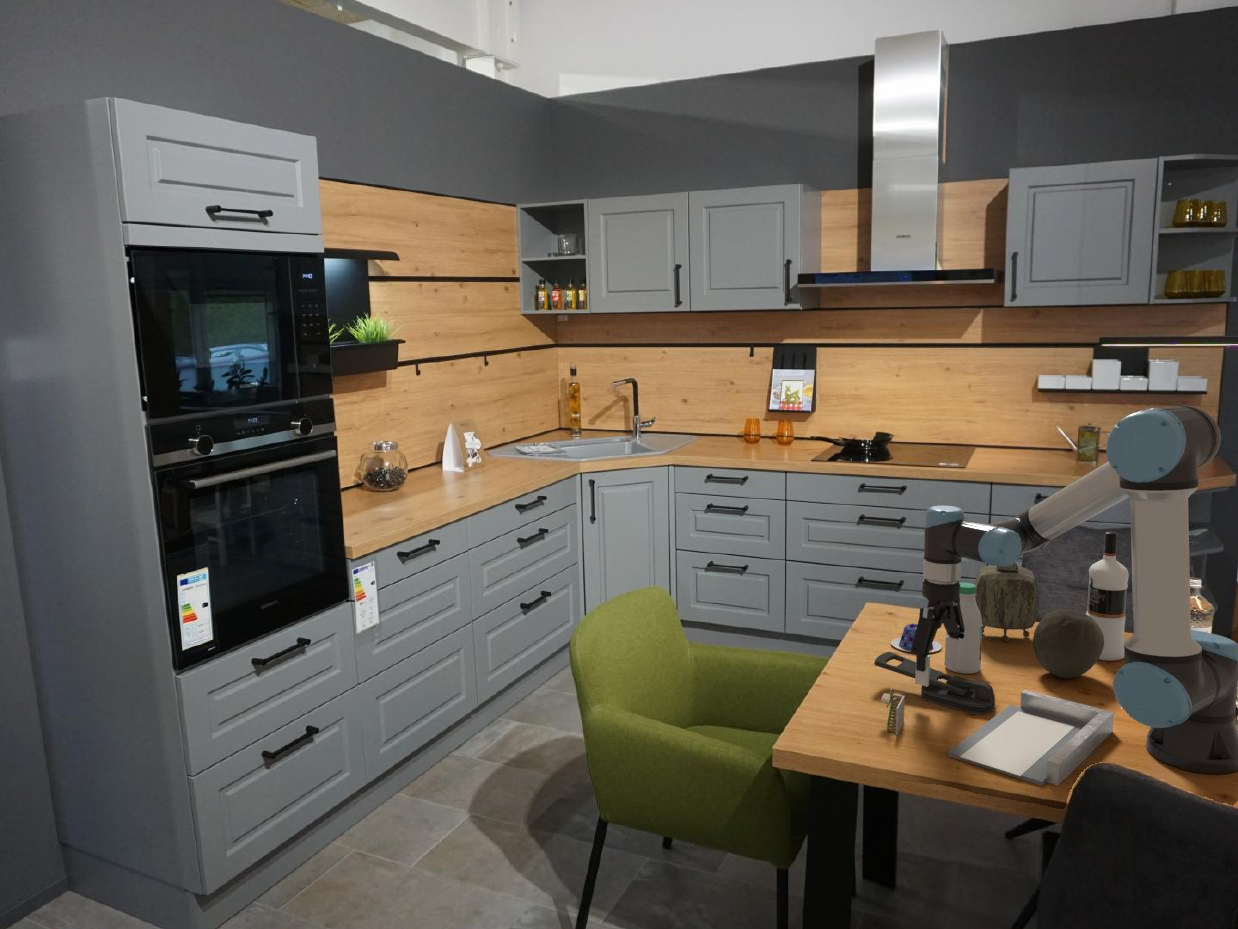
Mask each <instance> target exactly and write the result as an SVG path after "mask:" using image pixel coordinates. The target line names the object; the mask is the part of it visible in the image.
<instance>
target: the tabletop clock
mask: <svg viewBox="0 0 1238 929" xmlns="http://www.w3.org/2000/svg"><path fill="white" fill-rule="evenodd" d="M1022 555H1023V554H1020V556H1019V557H1021V556H1022ZM974 581H975V582H974V585H976V587H977V591H976V596H975V600H976V604H977V607H978V609H979V611H980V614H981V618H982V634H983V633H985V628H986V627H988V628H992V629H993V628H994V629H999V630H1001V629H1002V630H1003V635H1002V636H1001V641H1002V642H1004V643H1006V642H1008V641H1009V636H1007V634H1008V633H1007V631H1008V630H1013V631H1014V630H1015V631H1016V630H1018V631H1019V630H1021V631H1023V632H1022V636H1023V637H1025V638H1028V637H1029V636H1030V632H1029V631H1028V629H1033V628H1034V626H1035V624H1036V620H1037V618H1038V613H1039V612H1038V611H1039V604H1040V602H1039V601H1040V600H1039V598H1040V597H1039V587H1038V583H1037V580H1036V578H1035V576H1034V574H1033V571H1032V570H1030V569H1029V568H1025V567H1022V566H1021V567H1020V566H1019V565H1018V564H1017V562H1016V561H1015V562H1014V564H1013V565H1011V566H1008V567H1003V566H997V565H995V566H993V565H985V566H982V567H979V569H978V571H977V573H976V577H975V580H974Z"/></svg>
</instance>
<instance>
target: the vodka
mask: <svg viewBox="0 0 1238 929" xmlns="http://www.w3.org/2000/svg"><path fill="white" fill-rule="evenodd" d="M1117 540H1118V533H1117V532H1115V531H1106V532H1105V533H1104V545H1103V556H1102V559H1100V560H1098V561H1097V562H1094V563H1093V564H1091V565H1090V567H1089V569H1088V573H1089V578H1088V594H1087V609H1086V613H1085V614H1086V615H1089V616H1090V617H1091V618H1092V619H1093V620H1094V621H1095V622H1096V623H1097V624H1098V626H1099V627H1100V629H1101V630H1102V633H1103V636H1104V648H1103V651H1102V653H1101V656H1100V657H1099V659H1098V661H1103V662H1104V661H1106V662H1116V661H1120V660H1123V659H1124V642H1125V626H1126V625H1125V624H1126V619H1127V616H1126V607H1127V606H1126V605H1127V604H1126V603H1127V589H1128V587H1129V584H1128V583H1129V582H1128V581H1129V576H1130V573H1129V571H1128V569H1127V567H1126V566H1125V565H1123V564H1122V563H1120V562H1119V561H1118V560H1117V559H1116V557H1117V543H1118V541H1117Z"/></svg>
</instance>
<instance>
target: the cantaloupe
mask: <svg viewBox="0 0 1238 929" xmlns="http://www.w3.org/2000/svg"><path fill="white" fill-rule="evenodd" d="M1103 648H1104V636H1103V633H1102V630H1101V629H1100V627H1099V626H1098V624H1097V623H1096V622H1095V621H1094V620H1093V619H1092V618H1091V617H1090V616H1089V615H1086V613H1084V612H1082V611H1077V610H1074V609H1066V608H1061V609H1059V608H1058V609H1055V610H1052V611H1050V612H1048V613H1046V614H1045V616H1044V617H1042V619H1041V620H1040V621H1039V622H1038V624H1037V626H1036V627H1035V629H1034V632H1033V637H1032V649H1033V654H1034V656H1035V658H1036V660H1037V663H1038V664H1039V665H1040V667H1041V668H1043V670H1045V671H1047V673H1050V674H1052V675H1054V676H1056V677H1057V678H1058V679H1059V678H1060V679H1067V680H1068V679H1072V678H1077V677H1080V676H1082V675H1084V674H1086V673H1087V672H1089V670H1091V669H1092V668H1093V667H1094V666H1095V665H1096V663H1097V662H1098V661H1099V660H1098V659H1099V657H1100V656H1101V653H1102V651H1103Z"/></svg>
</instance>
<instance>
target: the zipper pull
mask: <svg viewBox="0 0 1238 929" xmlns="http://www.w3.org/2000/svg"><path fill="white" fill-rule="evenodd" d="M892 660H894V661H898V662H900V663H898V665H892V664H889V663H888V662H890V661H892ZM873 664H874V666H876V667H879V668H883V669H884V670H887V671H891V672H894V673H898V674H899V675H903V676H906V677H909V678H913V679H915V674H916V661H914V660H912V659H909V658H907V657H904V656H902V655H899V654H896V653H895V652H892V651H886V652H883V653H881V654H879V655H878V656H877V657H876V658H875V660H874V663H873ZM942 680H946V682H944V681H942ZM920 690H921V691H920V694H921V698H922V700H923V701H925V702H928V703H931V704H932V703H933V704H935V705H939V706H942V707H946V708H948V709H953V710H956V711H960V712H963V713H965V714H966V713H967V714H968V715H969V714H970V715H979V716H982V715H983V716H984V715H987V714H989V713H992V712H993V711H994V710H995V705H996V698H995V696H996V695H995V692H994V689H993V686H991V684H990V683H988V682H984V681H980V680H977V679H972V678H967V677H962V676H958V675H950V674H947V673H944V672H942V671H940V670H938V669H934V668H932V667H930V673H929V686H928V687H926V686H923V685H921V689H920Z"/></svg>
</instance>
